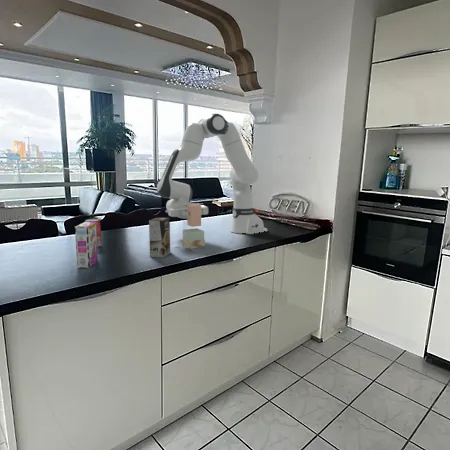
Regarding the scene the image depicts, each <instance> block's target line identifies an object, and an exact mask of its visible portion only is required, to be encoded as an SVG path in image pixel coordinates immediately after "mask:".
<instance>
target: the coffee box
mask: <svg viewBox="0 0 450 450" xmlns="http://www.w3.org/2000/svg"><path fill="white" fill-rule="evenodd" d="M148 224H149V225H148V227H149V228H148V229H149V230H148V232H149V233H148V235H149V236H148V237H149V238H148V239H149V257H150V258H151V257H152V258H160V259H162V258H165V257H166V256H168V255H169V254H170V253H171V219H170V217H155V218H152V219H149V220H148Z"/></svg>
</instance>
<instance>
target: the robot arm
mask: <svg viewBox="0 0 450 450" xmlns="http://www.w3.org/2000/svg"><path fill="white" fill-rule="evenodd" d="M213 137H217V138H218V139H219V141H220V142H221V145H222V148H223V150H224V153H225V156H226V159H227V161H228V162H229V163H230V165H231V166H232V168H231V169H230V170H229V171H230V172H229V177H230V179H231V185H232V191H233V207H232V223H231V228H230V232H232V233H235V234H242V233H246V234H245V235H247V234H248V235H255V234H259V232H260V233H264V231H265V232H268V229H267V228H266V227H265V226H264V220H262V219H261V218H260V217H259V216H258V215H257V214H256V213H258V212H259V209H258V208H254V207H253V198H254V196H253V193H252V189H251V185H252V184H254V183H256V182H257V181H258V179H259V171H258V169H257V168H255V166H254V165H253V161H251V159H250V156H248V153H247V151H246V149H245V146H244V143H243V141H242V137H241V136H240V133H239V131H238V129H237V127H236V125H235V123H234V124H233V123H232V122H231V121H230V122H228V121H227V120H226V119H225V117H224V115H222V114H220V113H212V114H209V115H207V116H205V117H204V118H202V119H200V120H199V121H198V122H190V123H189V124H188V125H187V126H186V128H185V130H184V133H183V136H182V139H181V143H180V146H178V148H177V149H174V150H173V152H172V153H171V155H170V158H169V159H168V162H167V164H166V166H165V168H164V171H163V174H162V176H161V178H160V179H159V182H158V184H157V187H156V191H157V193H158V195H159V196H160V197H161V198H164V199H169V200H167V202H166V204H165V206H166V210H165V213H167V214H168V216H169V217H172V218H176V217H177V218H180V219H184V220H185V219H186V220H187V216H190V212H189V211H188V212H187V205H190V204H198V205H201V216H202V215H205V216H206V215H209V206H206V205H204V204H200V203H199V202H191V201H192V199H193V189H192V187H191V185H190V184H187V183H185V182H180V181H176V180H173V179H172V178H173V175H174V173H175V171H176V169H177V166H178V165H179V164H180V163H182V162H190V161H191V162H192V161H194V160H196V159H198V158H199V157H200V155H201V153H202V150H203V149H202V148H203V144H204V140H205V139H209V138H213ZM255 212H256V213H255ZM254 233H255V234H254Z"/></svg>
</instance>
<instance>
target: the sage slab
mask: <svg viewBox="0 0 450 450" xmlns="http://www.w3.org/2000/svg"><path fill="white" fill-rule="evenodd" d="M183 238H184V239H186V240H188V241H194V240H203V239H205V231H204V230H202V229H200V228H188V229H182V239H183Z"/></svg>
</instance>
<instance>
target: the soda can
mask: <svg viewBox="0 0 450 450" xmlns="http://www.w3.org/2000/svg"><path fill="white" fill-rule="evenodd" d="M84 222H96V233H97V248H100V247H101V246H102V244H103V242H102V229H101V228H102V225H101V221H100V219H99V218H88V219H85V221H84ZM99 246H100V247H99Z"/></svg>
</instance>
